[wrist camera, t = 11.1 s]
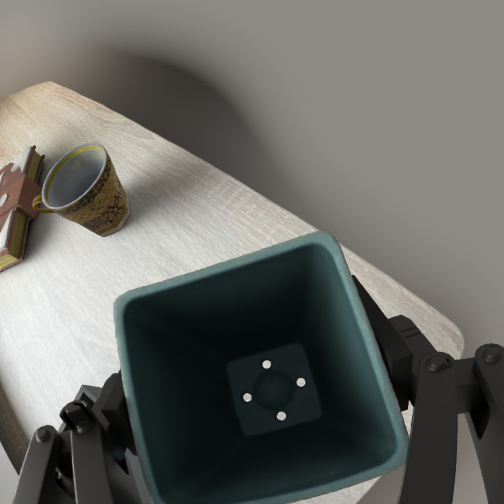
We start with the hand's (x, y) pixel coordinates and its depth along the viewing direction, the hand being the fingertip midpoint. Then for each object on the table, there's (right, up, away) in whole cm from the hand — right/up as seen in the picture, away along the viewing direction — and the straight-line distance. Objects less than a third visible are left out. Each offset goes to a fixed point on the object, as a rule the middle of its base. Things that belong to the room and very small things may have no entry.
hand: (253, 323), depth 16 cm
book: (-44, +10, +32) cm, 55 cm away
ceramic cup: (-21, +8, +27) cm, 35 cm away
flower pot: (+1, -5, +2) cm, 5 cm away
